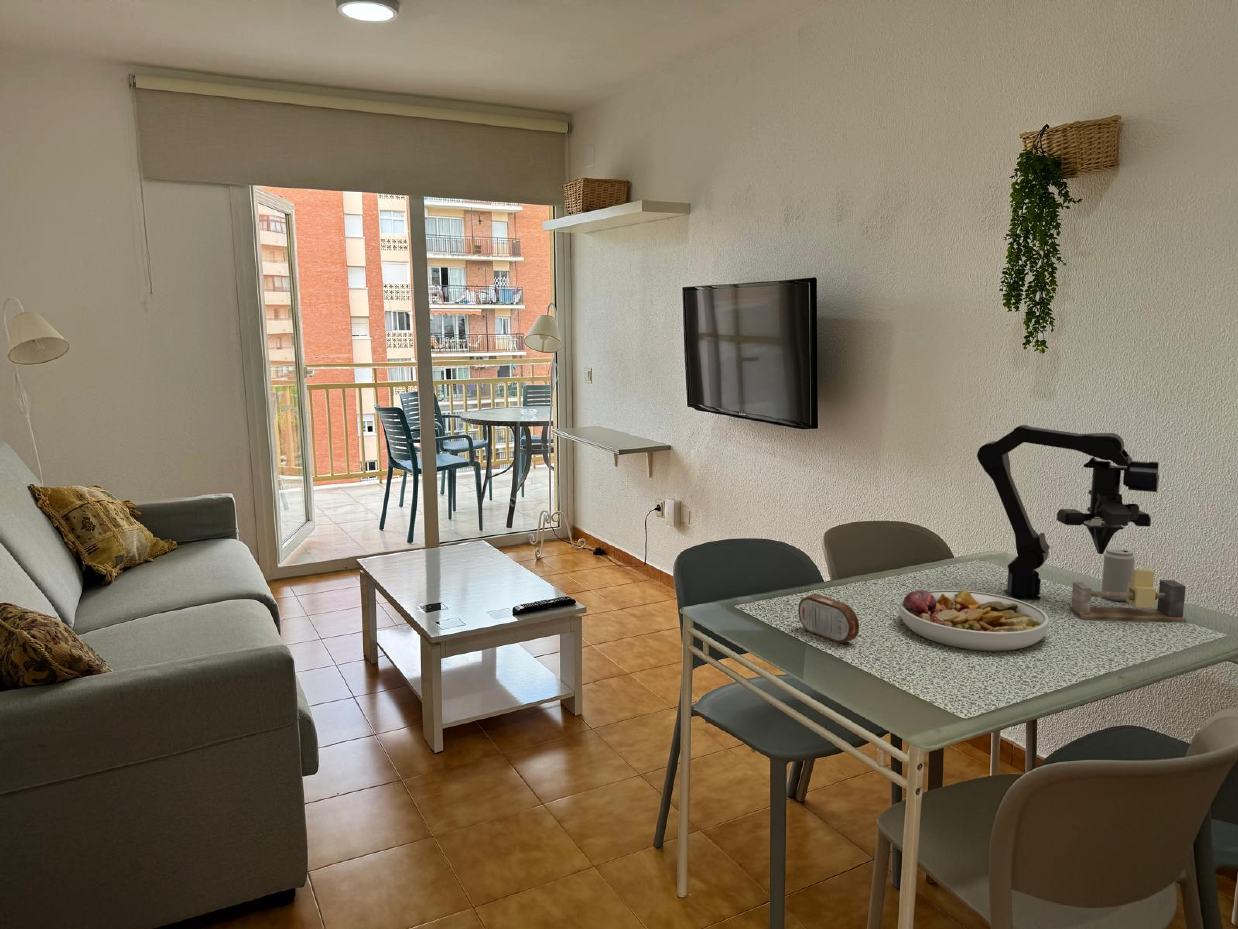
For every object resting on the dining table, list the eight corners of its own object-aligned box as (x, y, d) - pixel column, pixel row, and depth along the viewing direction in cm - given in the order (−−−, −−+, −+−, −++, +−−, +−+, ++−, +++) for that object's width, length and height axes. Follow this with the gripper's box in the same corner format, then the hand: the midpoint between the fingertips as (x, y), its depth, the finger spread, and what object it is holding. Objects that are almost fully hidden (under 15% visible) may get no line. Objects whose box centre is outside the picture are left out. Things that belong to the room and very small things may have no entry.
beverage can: (1136, 602, 209) (1141, 553, 208) (1109, 602, 210) (1113, 553, 208) (1122, 594, 216) (1126, 547, 214) (1095, 594, 216) (1099, 547, 214)
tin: (859, 645, 181) (861, 606, 180) (849, 649, 179) (850, 609, 178) (805, 626, 193) (806, 589, 192) (795, 629, 191) (796, 591, 190)
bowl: (1032, 616, 200) (1035, 583, 199) (1061, 663, 172) (1064, 624, 171) (896, 605, 208) (897, 573, 207) (901, 649, 180) (903, 612, 179)
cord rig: (1081, 619, 197) (1084, 585, 196) (1069, 609, 204) (1071, 576, 203) (1184, 622, 195) (1188, 587, 194) (1168, 612, 202) (1171, 578, 200)
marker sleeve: (1135, 607, 197) (1138, 572, 195) (1126, 601, 201) (1129, 567, 200) (1154, 607, 196) (1157, 573, 195) (1144, 601, 201) (1147, 568, 199)
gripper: (1078, 493, 194) (1073, 561, 196) (1166, 494, 192) (1160, 563, 195) (1058, 485, 205) (1053, 549, 207) (1141, 486, 203) (1135, 551, 206)
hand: (1100, 553), depth 204 cm, fingers closed
